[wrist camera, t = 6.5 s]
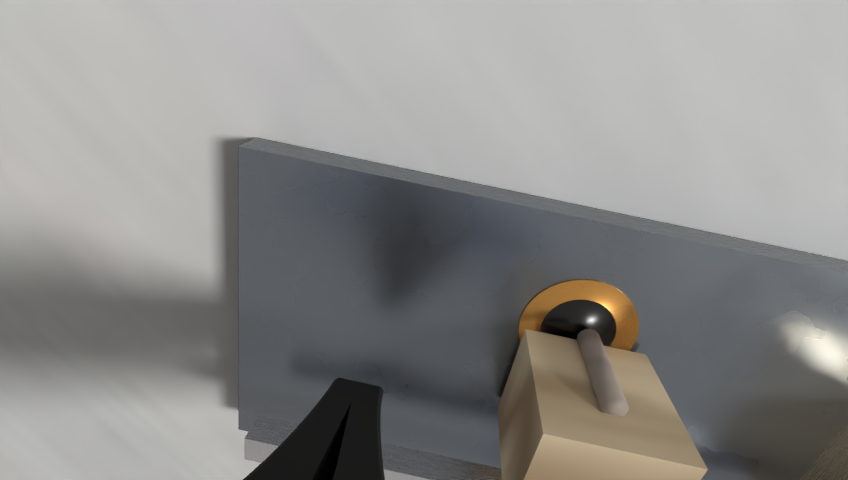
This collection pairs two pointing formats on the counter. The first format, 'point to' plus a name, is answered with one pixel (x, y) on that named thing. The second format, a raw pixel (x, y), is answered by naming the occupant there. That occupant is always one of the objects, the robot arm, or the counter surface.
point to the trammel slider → (589, 415)
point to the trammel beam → (444, 476)
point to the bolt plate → (523, 309)
